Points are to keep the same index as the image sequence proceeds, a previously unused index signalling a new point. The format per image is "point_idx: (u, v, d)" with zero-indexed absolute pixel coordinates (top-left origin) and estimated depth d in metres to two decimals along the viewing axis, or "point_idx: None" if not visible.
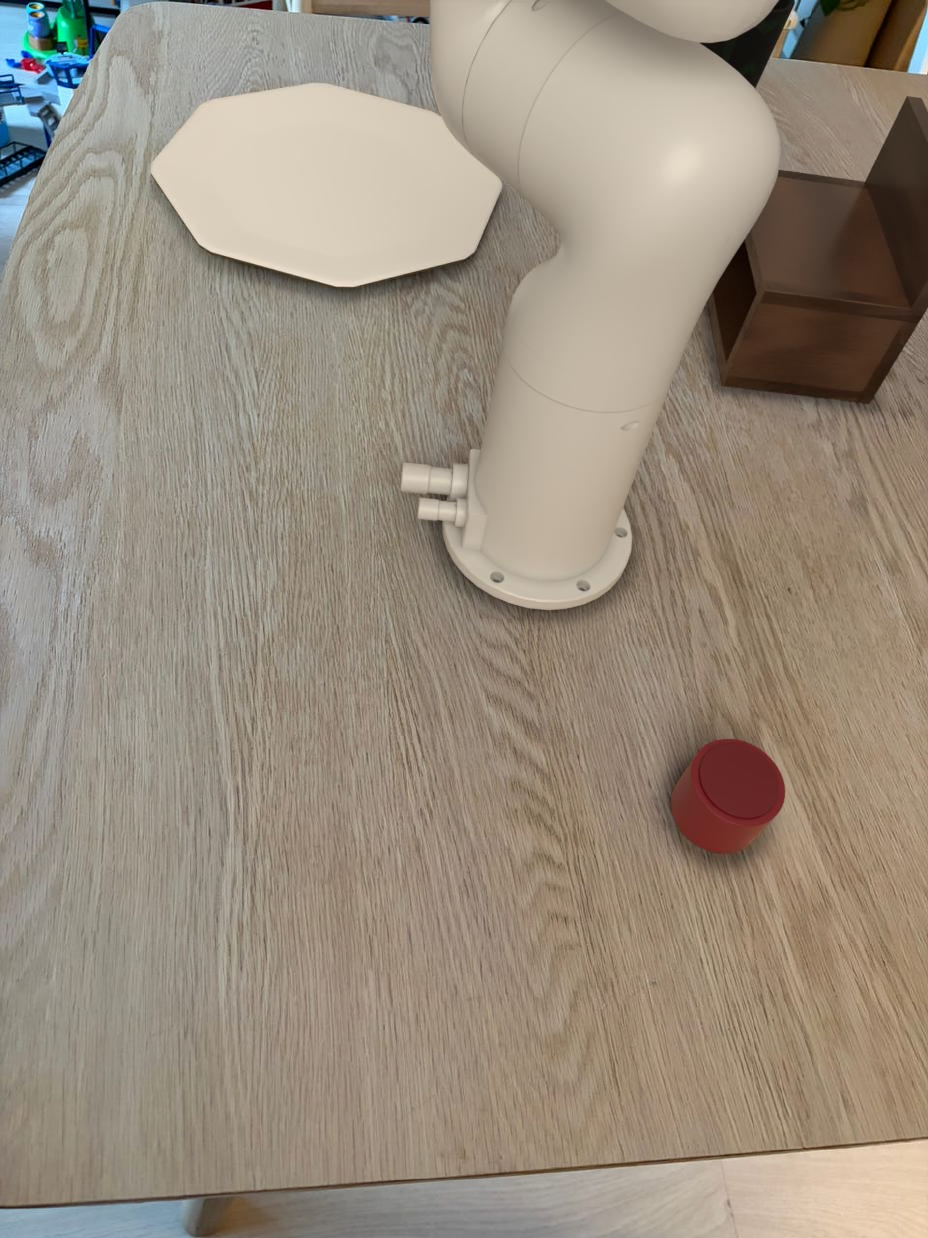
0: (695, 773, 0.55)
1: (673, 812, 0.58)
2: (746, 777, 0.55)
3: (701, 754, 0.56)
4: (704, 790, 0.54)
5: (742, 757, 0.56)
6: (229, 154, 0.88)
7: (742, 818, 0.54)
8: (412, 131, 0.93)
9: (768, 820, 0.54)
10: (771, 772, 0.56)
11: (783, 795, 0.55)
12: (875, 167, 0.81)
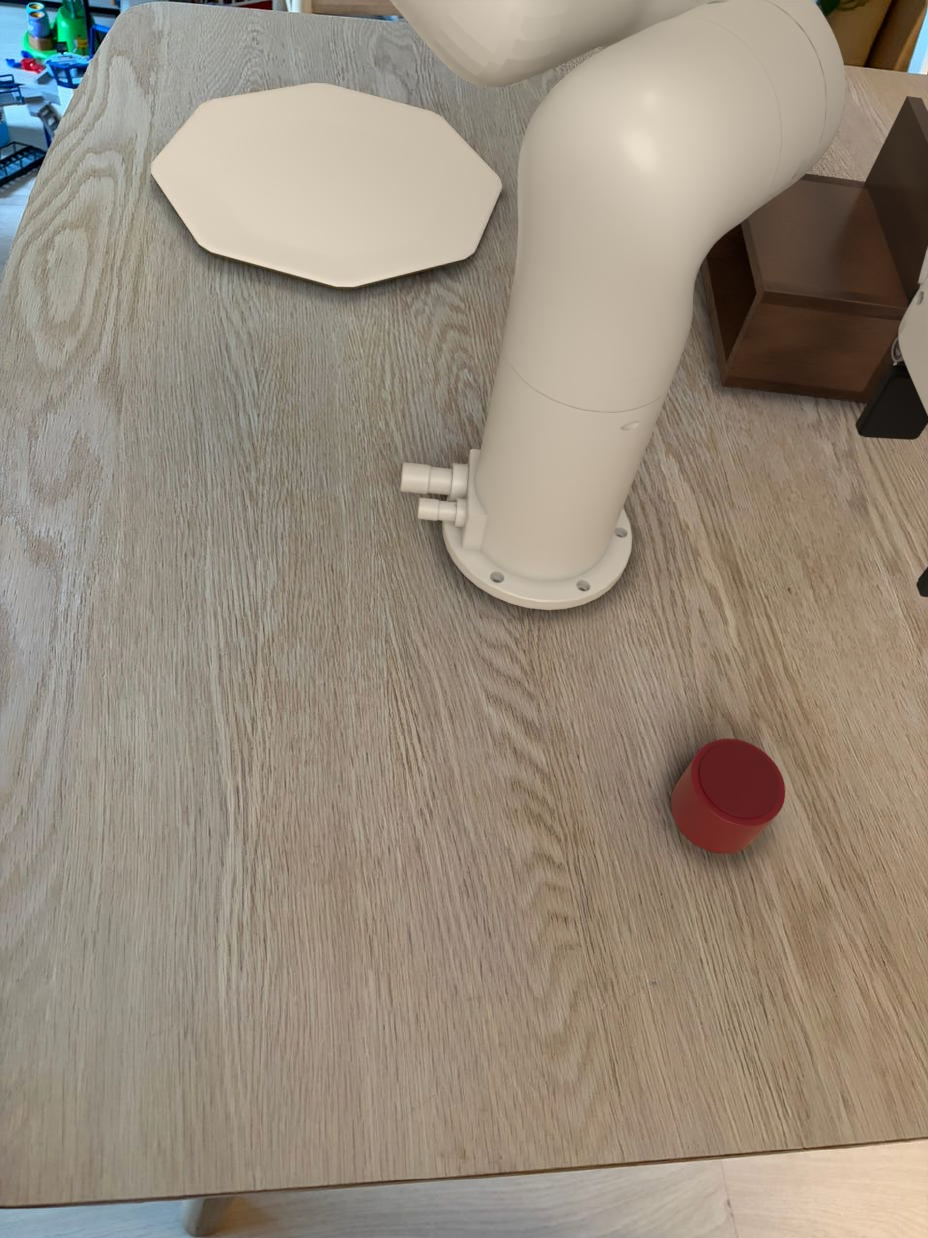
0: (695, 773, 0.55)
1: (673, 812, 0.58)
2: (746, 777, 0.55)
3: (701, 754, 0.56)
4: (704, 790, 0.54)
5: (742, 757, 0.56)
6: (229, 154, 0.88)
7: (742, 818, 0.54)
8: (412, 131, 0.93)
9: (768, 820, 0.54)
10: (771, 772, 0.56)
11: (783, 795, 0.55)
12: (875, 167, 0.81)
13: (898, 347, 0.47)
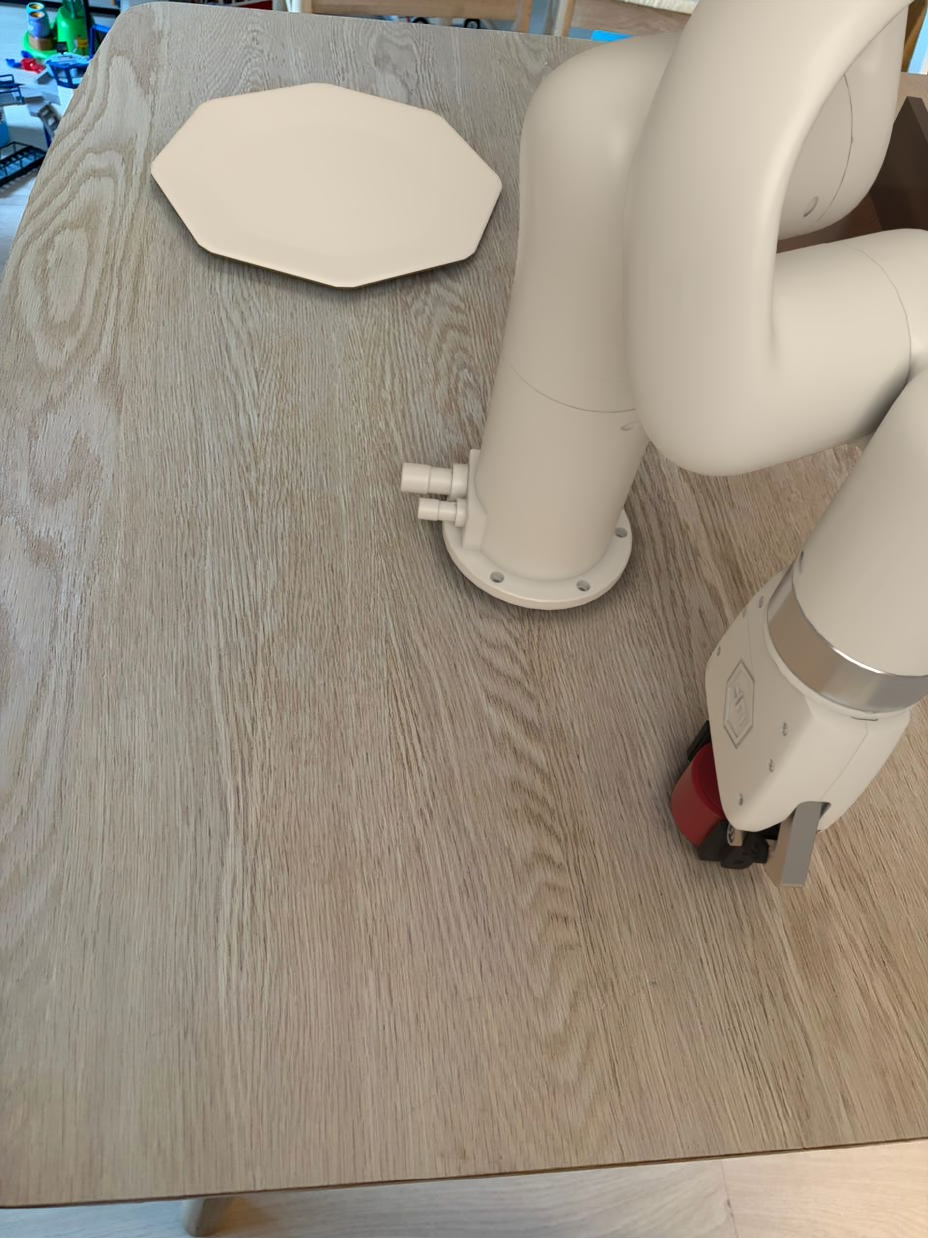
0: (695, 773, 0.55)
1: (673, 812, 0.57)
2: None
3: (701, 754, 0.56)
4: (704, 790, 0.54)
5: None
6: (229, 154, 0.88)
7: None
8: (412, 131, 0.93)
9: None
10: None
11: None
12: None
13: None
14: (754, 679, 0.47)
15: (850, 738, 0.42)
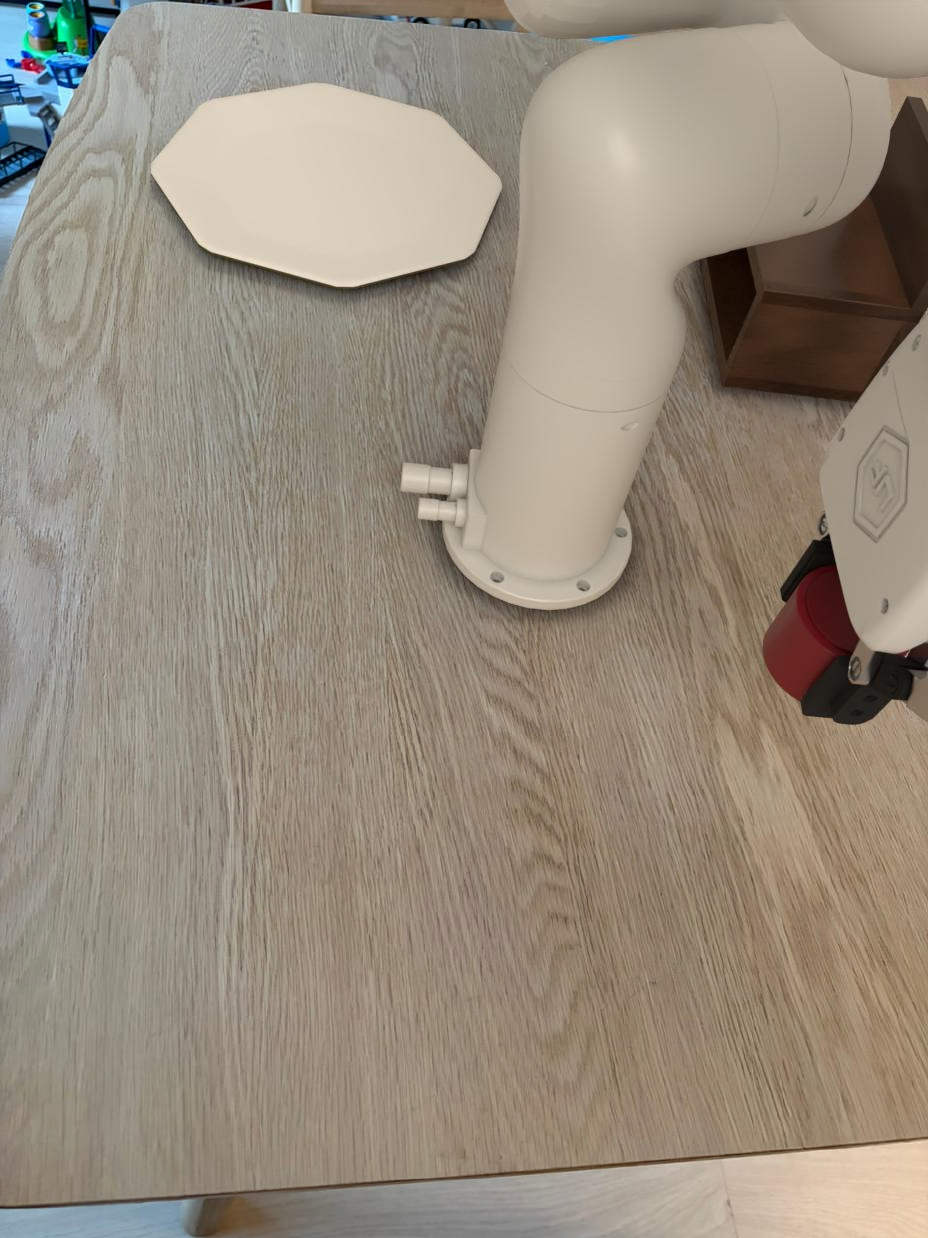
0: (801, 603, 0.43)
1: (766, 660, 0.46)
2: None
3: (807, 581, 0.44)
4: (814, 622, 0.43)
5: None
6: (229, 154, 0.88)
7: None
8: (412, 131, 0.93)
9: None
10: None
11: None
12: None
13: (823, 524, 0.45)
14: (909, 441, 0.35)
15: None
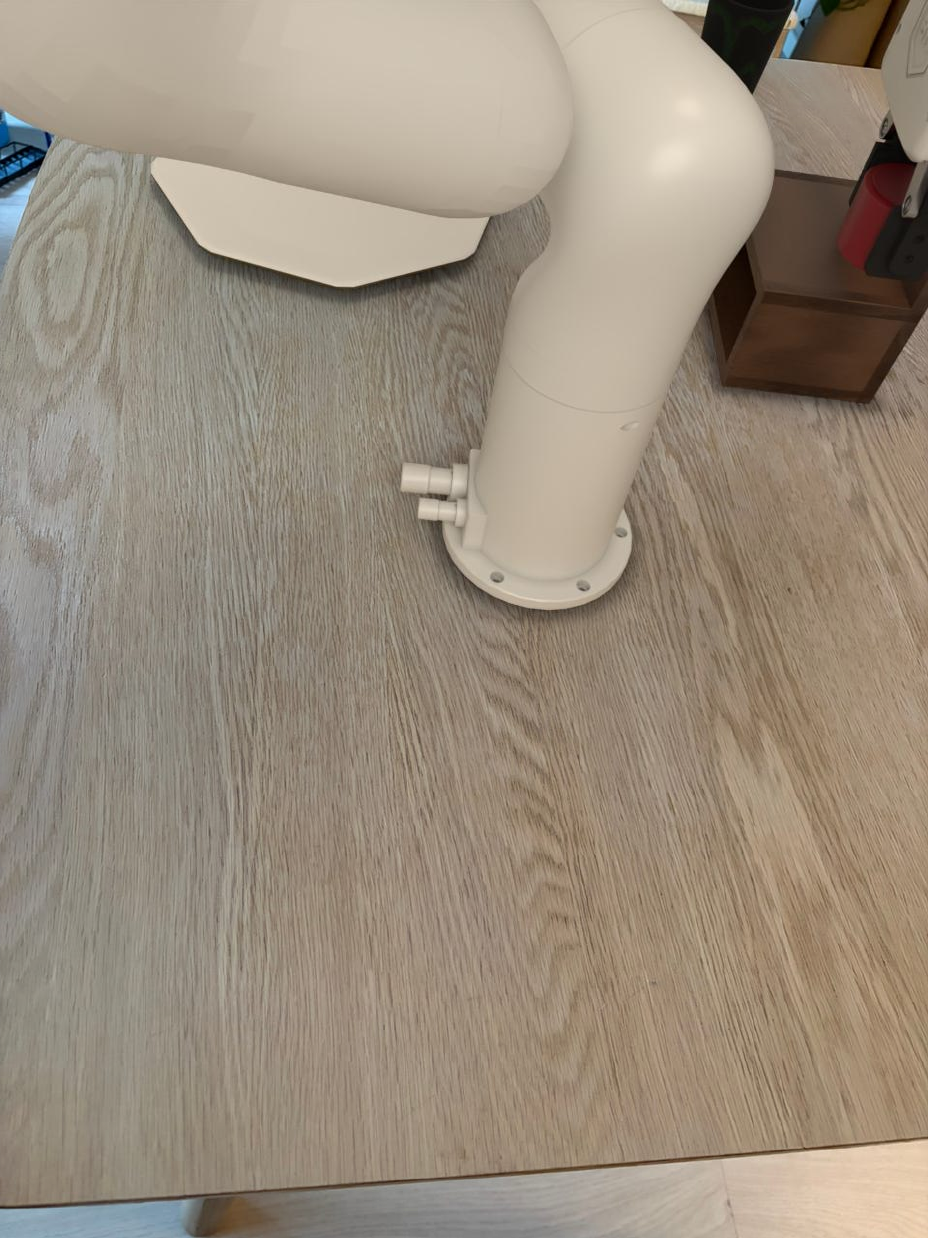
0: (868, 181, 0.56)
1: (840, 244, 0.58)
2: None
3: (873, 169, 0.56)
4: (878, 190, 0.55)
5: None
6: None
7: None
8: None
9: None
10: None
11: None
12: None
13: (884, 129, 0.57)
14: None
15: None
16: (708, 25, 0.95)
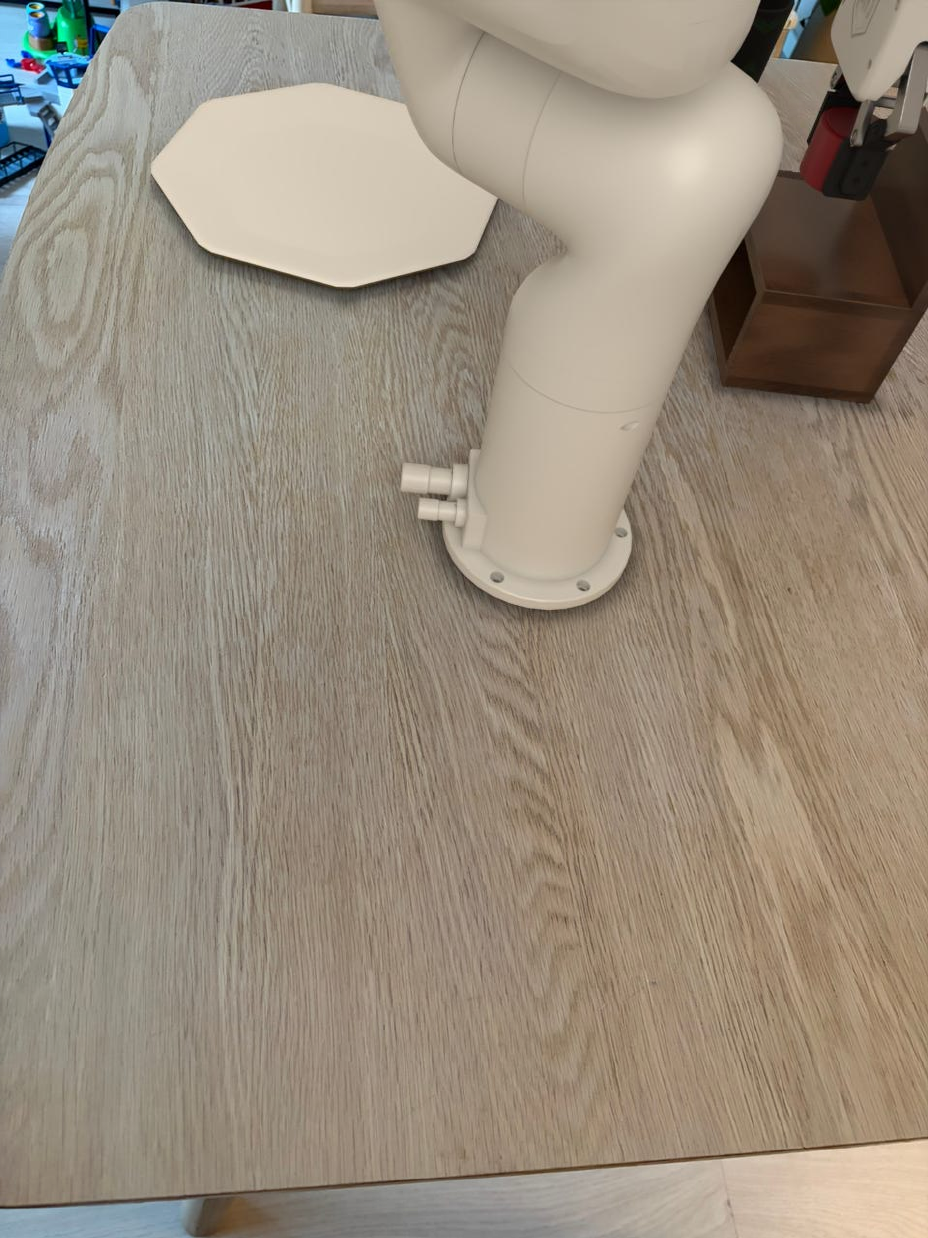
0: (824, 120, 0.71)
1: (802, 172, 0.73)
2: None
3: (827, 112, 0.71)
4: (832, 127, 0.70)
5: None
6: (229, 154, 0.88)
7: None
8: (412, 131, 0.93)
9: None
10: None
11: None
12: None
13: (834, 81, 0.72)
14: None
15: None
16: None
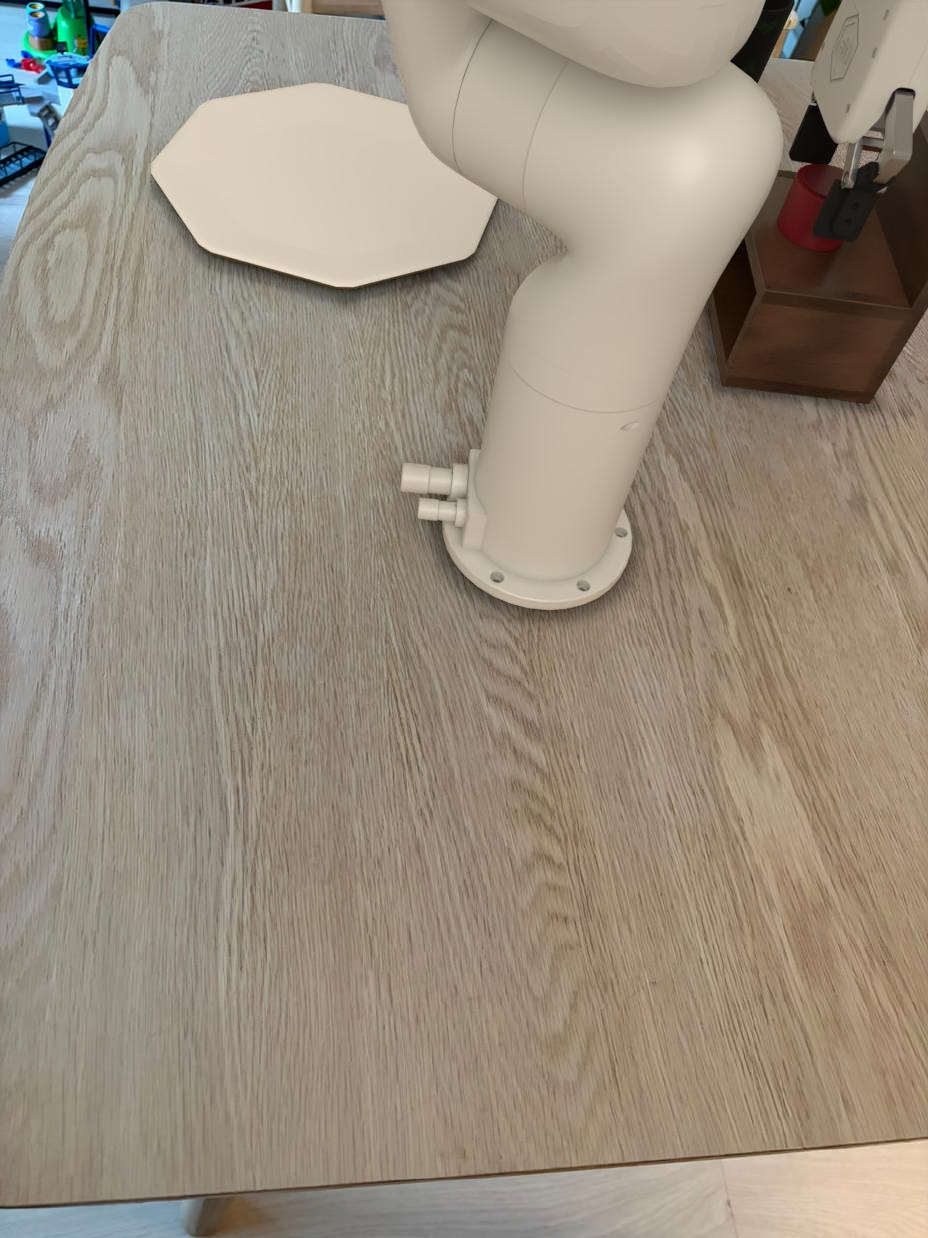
0: (799, 177, 0.74)
1: (779, 225, 0.77)
2: None
3: (802, 168, 0.75)
4: (807, 184, 0.73)
5: (833, 171, 0.75)
6: (229, 154, 0.88)
7: None
8: (412, 131, 0.93)
9: None
10: None
11: None
12: None
13: None
14: (858, 14, 0.65)
15: None
16: None
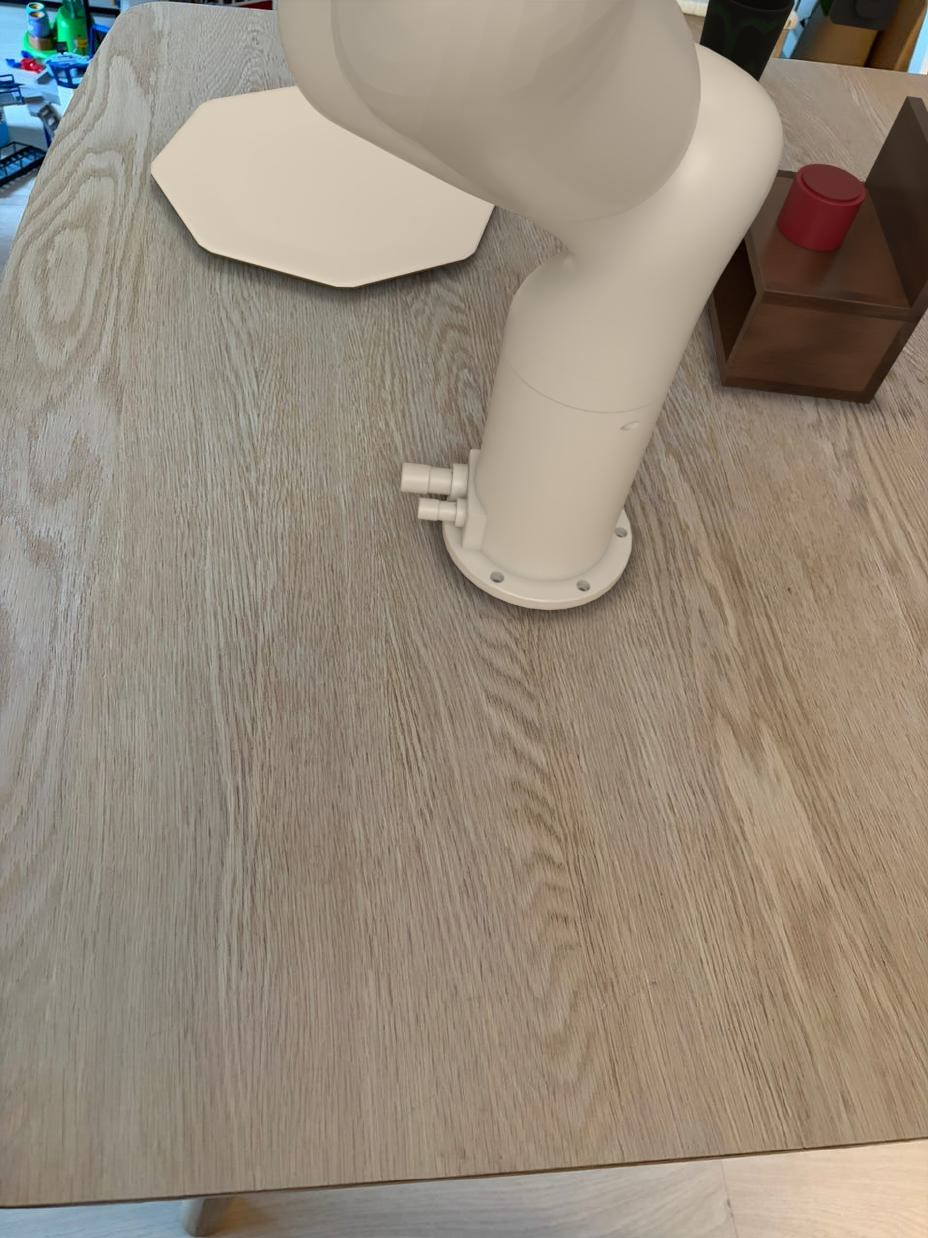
0: (799, 177, 0.74)
1: (779, 225, 0.77)
2: (837, 180, 0.74)
3: (802, 168, 0.75)
4: (807, 184, 0.73)
5: (833, 171, 0.75)
6: (229, 154, 0.88)
7: (836, 200, 0.73)
8: None
9: (854, 203, 0.73)
10: (855, 179, 0.75)
11: (864, 193, 0.74)
12: (875, 167, 0.81)
13: None
14: None
15: None
16: (708, 25, 0.95)
